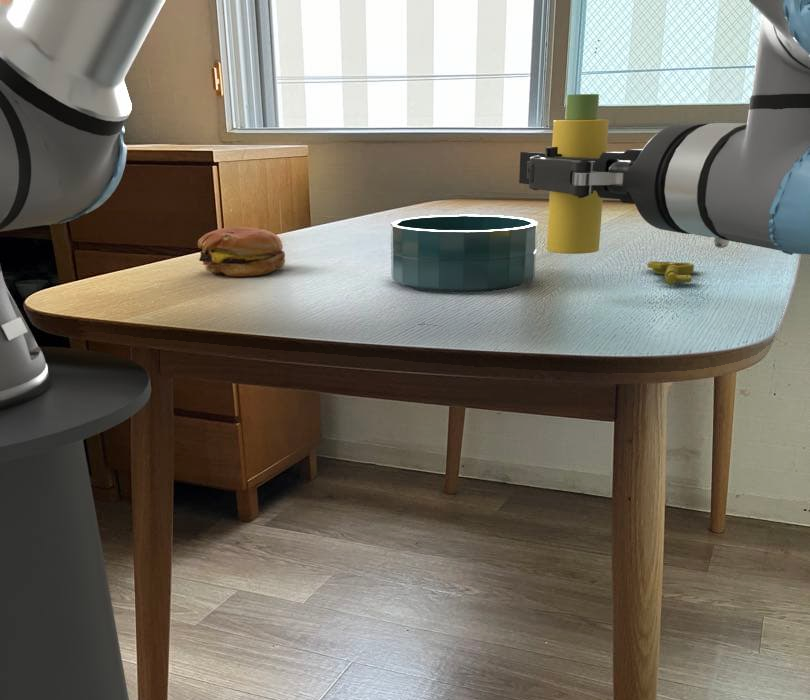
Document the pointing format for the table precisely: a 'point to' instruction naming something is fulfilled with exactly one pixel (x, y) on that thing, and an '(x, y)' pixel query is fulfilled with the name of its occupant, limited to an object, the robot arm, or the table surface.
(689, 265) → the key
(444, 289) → the teal pet bowl
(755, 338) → the table surface
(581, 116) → the yellow bottle green cap
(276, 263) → the burger
